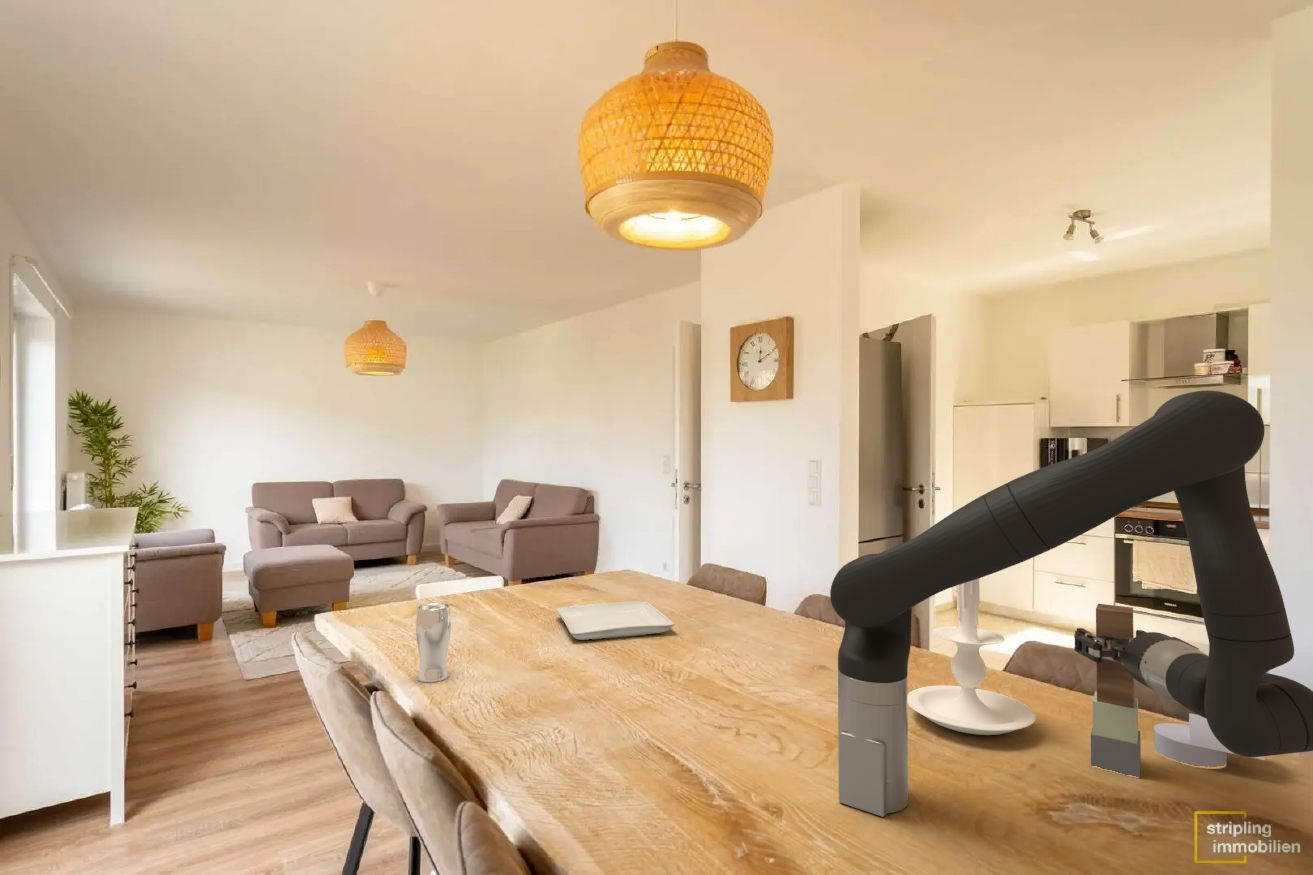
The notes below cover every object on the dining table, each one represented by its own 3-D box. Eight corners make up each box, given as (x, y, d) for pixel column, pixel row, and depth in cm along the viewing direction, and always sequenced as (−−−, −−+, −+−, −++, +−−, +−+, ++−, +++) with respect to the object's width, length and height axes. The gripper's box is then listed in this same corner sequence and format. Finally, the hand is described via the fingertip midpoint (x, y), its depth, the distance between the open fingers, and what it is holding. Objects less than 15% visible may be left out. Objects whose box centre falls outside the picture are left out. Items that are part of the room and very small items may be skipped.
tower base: (1139, 779, 99) (1139, 744, 99) (1091, 767, 103) (1090, 734, 103) (1140, 763, 104) (1140, 731, 104) (1094, 753, 107) (1093, 721, 107)
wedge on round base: (1258, 760, 105) (1154, 738, 113) (1258, 717, 105) (1154, 698, 113) (1265, 783, 98) (1153, 758, 105) (1264, 736, 98) (1153, 715, 106)
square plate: (554, 619, 192) (554, 606, 192) (646, 612, 200) (646, 599, 200) (571, 646, 166) (571, 630, 166) (676, 637, 174) (676, 622, 174)
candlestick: (1030, 705, 127) (1029, 556, 128) (1040, 759, 105) (1038, 579, 105) (913, 688, 136) (912, 549, 137) (900, 735, 114) (899, 568, 114)
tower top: (1137, 743, 99) (1136, 709, 99) (1092, 734, 103) (1092, 701, 103) (1138, 731, 104) (1137, 698, 104) (1095, 722, 107) (1095, 690, 107)
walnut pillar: (1133, 708, 100) (1131, 613, 100) (1097, 701, 103) (1095, 608, 103) (1134, 699, 104) (1133, 607, 104) (1099, 692, 106) (1098, 603, 107)
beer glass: (408, 679, 141) (408, 607, 141) (433, 670, 147) (434, 601, 147) (432, 685, 138) (433, 611, 138) (457, 675, 144) (457, 604, 144)
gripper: (1232, 642, 88) (1157, 612, 104) (1114, 638, 90) (1059, 609, 106) (1233, 700, 88) (1158, 661, 104) (1115, 694, 90) (1059, 657, 106)
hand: (1108, 635), depth 105 cm, fingers open, 8 cm apart
